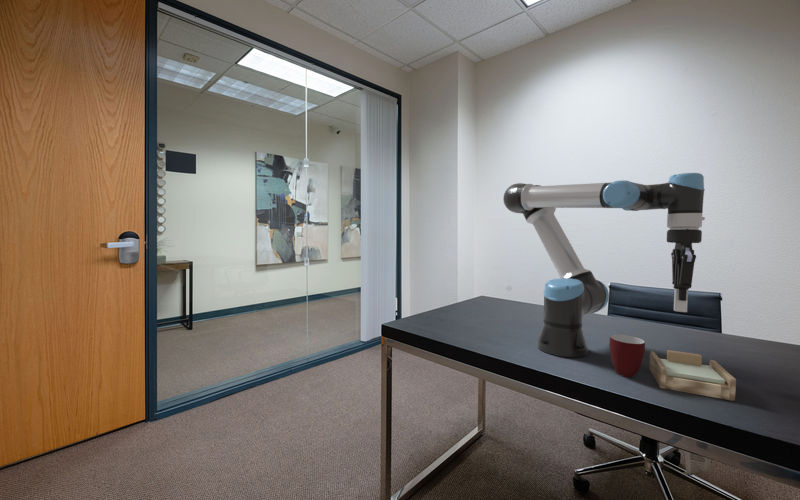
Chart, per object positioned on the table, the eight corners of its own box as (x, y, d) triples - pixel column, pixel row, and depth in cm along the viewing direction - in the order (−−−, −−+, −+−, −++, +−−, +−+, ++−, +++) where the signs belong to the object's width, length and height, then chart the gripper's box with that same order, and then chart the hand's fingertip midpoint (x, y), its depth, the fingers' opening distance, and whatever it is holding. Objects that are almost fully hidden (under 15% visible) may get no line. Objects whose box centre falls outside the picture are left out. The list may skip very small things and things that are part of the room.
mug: (600, 363, 99) (602, 331, 98) (631, 366, 97) (633, 333, 96) (614, 379, 88) (616, 342, 88) (649, 382, 86) (651, 345, 86)
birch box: (660, 387, 84) (661, 367, 83) (649, 368, 95) (650, 351, 95) (734, 401, 77) (736, 379, 77) (713, 379, 89) (714, 360, 88)
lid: (666, 375, 84) (666, 360, 84) (657, 361, 93) (657, 348, 93) (724, 384, 79) (725, 369, 79) (709, 369, 88) (710, 355, 88)
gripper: (710, 228, 86) (705, 317, 87) (693, 229, 97) (689, 308, 98) (673, 228, 89) (669, 314, 90) (661, 229, 101) (658, 305, 102)
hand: (680, 311), depth 94 cm, fingers closed
